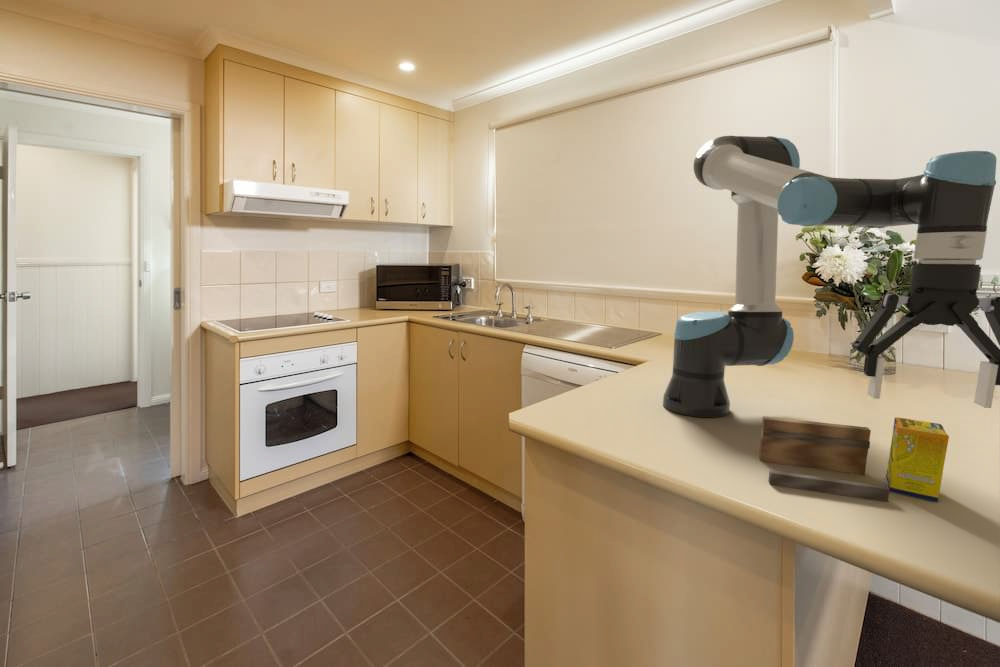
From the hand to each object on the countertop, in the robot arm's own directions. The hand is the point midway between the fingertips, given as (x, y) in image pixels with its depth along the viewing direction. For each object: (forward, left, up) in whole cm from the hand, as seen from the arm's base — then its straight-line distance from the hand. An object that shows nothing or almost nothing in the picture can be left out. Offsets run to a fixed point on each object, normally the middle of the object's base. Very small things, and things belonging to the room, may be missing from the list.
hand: (926, 401), depth 74 cm
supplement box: (0, 0, -15) cm, 15 cm away
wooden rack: (-13, 0, -15) cm, 20 cm away
